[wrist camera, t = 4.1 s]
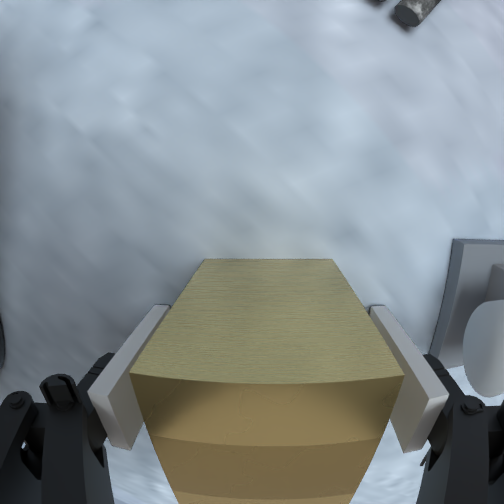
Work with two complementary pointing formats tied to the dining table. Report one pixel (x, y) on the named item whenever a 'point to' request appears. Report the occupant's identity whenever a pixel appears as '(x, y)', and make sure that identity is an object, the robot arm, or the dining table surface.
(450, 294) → the shaft bed
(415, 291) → the dining table surface
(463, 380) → the dining table surface
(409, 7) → the valve
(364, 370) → the cardboard box
